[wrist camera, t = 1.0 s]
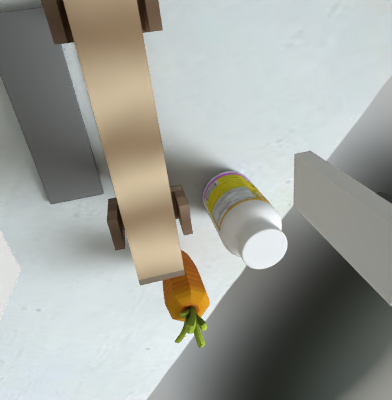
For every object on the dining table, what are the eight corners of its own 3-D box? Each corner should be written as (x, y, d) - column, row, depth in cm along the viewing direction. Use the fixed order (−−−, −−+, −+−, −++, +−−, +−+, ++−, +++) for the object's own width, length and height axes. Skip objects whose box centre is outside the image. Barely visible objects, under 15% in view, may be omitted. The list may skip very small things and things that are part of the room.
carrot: (190, 262, 46) (218, 354, 33) (155, 264, 44) (169, 359, 31) (193, 233, 43) (224, 318, 30) (157, 234, 42) (173, 323, 29)
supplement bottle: (253, 206, 44) (299, 265, 32) (207, 221, 43) (238, 286, 32) (246, 162, 40) (294, 211, 29) (196, 177, 40) (226, 233, 29)
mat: (-20, 15, 28) (-23, 15, 28) (50, 7, 29) (48, 6, 28) (51, 202, 37) (50, 204, 37) (103, 191, 38) (103, 194, 38)
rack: (61, -22, 28) (24, -57, 17) (137, -30, 29) (148, -69, 18) (120, 203, 39) (121, 268, 28) (175, 192, 40) (195, 251, 29)
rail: (53, -70, 20) (37, -96, 16) (119, -75, 20) (118, -102, 16) (137, 254, 32) (140, 285, 28) (177, 245, 32) (185, 274, 28)
